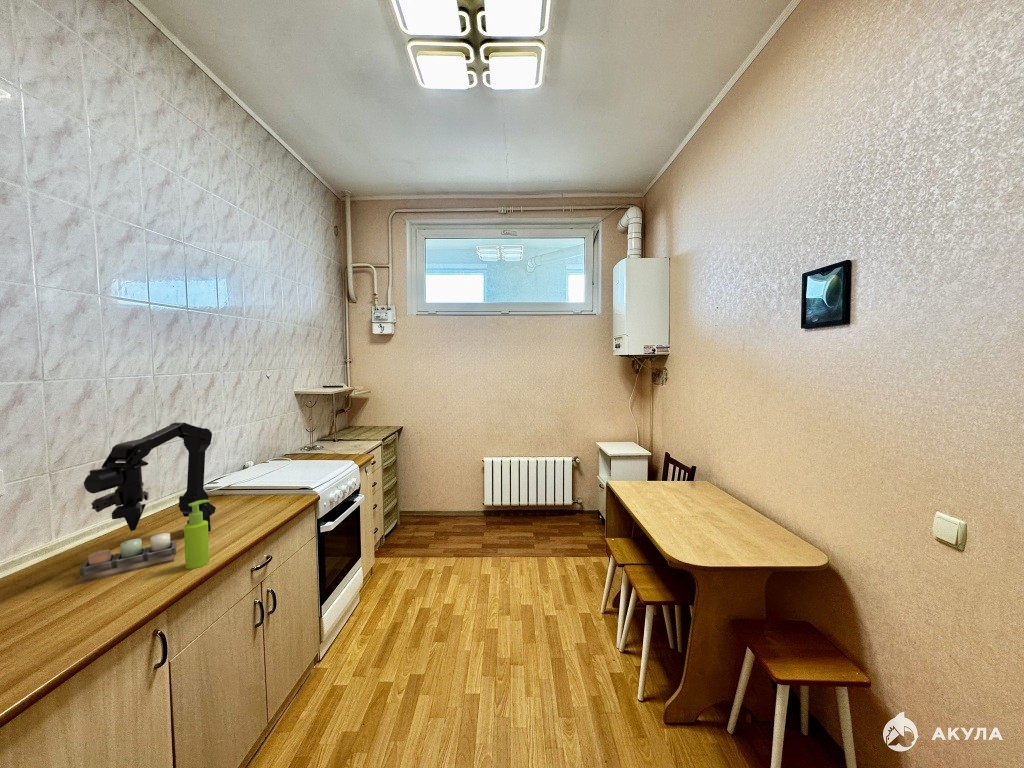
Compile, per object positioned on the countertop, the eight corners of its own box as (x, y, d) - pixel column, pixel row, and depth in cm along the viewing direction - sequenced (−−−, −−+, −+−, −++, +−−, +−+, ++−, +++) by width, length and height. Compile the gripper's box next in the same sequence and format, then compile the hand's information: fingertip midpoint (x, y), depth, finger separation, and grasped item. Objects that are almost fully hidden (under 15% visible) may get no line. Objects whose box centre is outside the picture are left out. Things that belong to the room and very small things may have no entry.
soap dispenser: (217, 559, 127) (214, 499, 126) (193, 570, 120) (191, 506, 119) (204, 557, 129) (202, 497, 128) (181, 567, 122) (178, 504, 121)
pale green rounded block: (142, 549, 128) (142, 537, 128) (140, 554, 124) (140, 542, 124) (122, 553, 125) (121, 541, 125) (119, 559, 121) (119, 546, 121)
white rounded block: (170, 543, 132) (170, 531, 132) (169, 548, 129) (169, 536, 129) (151, 547, 129) (151, 535, 129) (150, 552, 126) (149, 540, 126)
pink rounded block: (112, 560, 124) (112, 548, 124) (109, 566, 120) (109, 553, 120) (90, 565, 121) (90, 552, 121) (87, 571, 117) (86, 558, 117)
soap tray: (177, 545, 137) (177, 537, 137) (175, 561, 126) (174, 551, 126) (88, 565, 124) (87, 555, 124) (76, 584, 113) (76, 573, 113)
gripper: (100, 480, 127) (104, 526, 128) (85, 496, 112) (89, 548, 113) (147, 474, 133) (150, 518, 134) (138, 488, 118) (141, 538, 119)
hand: (133, 530), depth 125 cm, fingers closed
